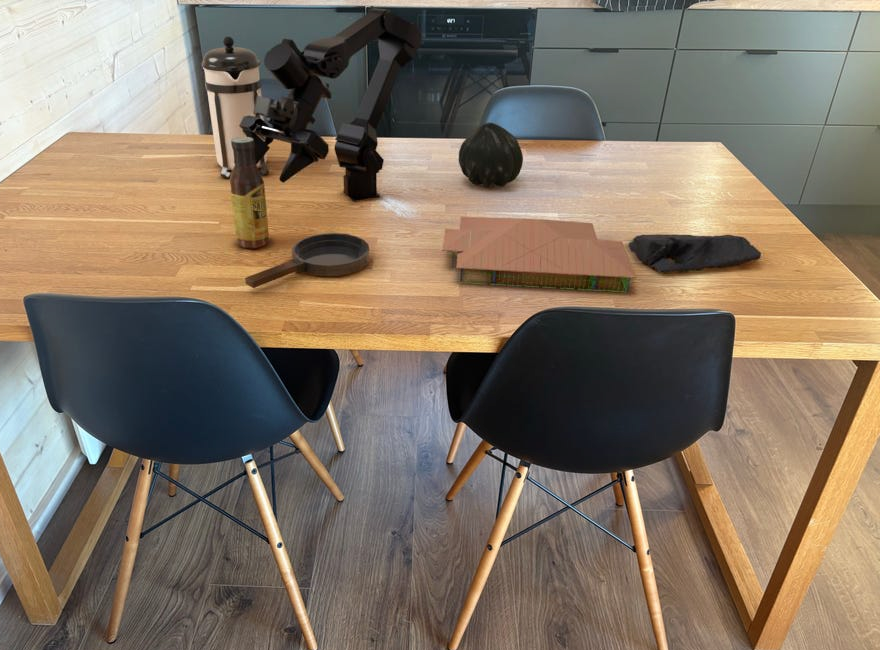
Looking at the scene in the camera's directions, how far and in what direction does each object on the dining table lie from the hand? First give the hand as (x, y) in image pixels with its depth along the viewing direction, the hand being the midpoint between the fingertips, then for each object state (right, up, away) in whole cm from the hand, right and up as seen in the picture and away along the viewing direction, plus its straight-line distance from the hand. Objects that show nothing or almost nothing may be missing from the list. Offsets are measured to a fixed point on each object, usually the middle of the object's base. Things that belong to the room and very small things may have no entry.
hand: (263, 176), depth 131 cm
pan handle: (+4, -21, -10) cm, 23 cm away
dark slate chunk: (+81, -15, +1) cm, 82 cm away
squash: (+47, +7, +34) cm, 58 cm away
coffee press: (-13, +12, +41) cm, 45 cm away
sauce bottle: (-3, -12, +4) cm, 13 cm away
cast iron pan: (+13, -16, -2) cm, 21 cm away
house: (+50, -16, -1) cm, 53 cm away
